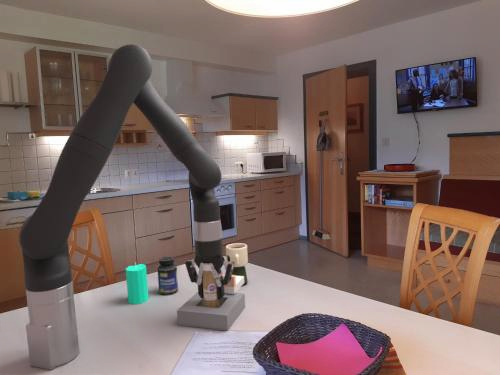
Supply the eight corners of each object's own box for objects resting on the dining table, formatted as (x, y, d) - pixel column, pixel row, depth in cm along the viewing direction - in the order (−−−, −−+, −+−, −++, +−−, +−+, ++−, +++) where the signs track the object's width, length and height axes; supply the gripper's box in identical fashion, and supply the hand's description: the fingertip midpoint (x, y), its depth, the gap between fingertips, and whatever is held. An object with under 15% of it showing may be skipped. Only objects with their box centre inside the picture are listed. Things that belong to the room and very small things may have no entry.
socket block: (227, 330, 95) (226, 315, 95) (177, 324, 99) (176, 310, 99) (245, 307, 108) (244, 293, 108) (200, 302, 113) (199, 290, 112)
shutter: (234, 294, 107) (233, 276, 107) (205, 291, 110) (204, 275, 109) (244, 282, 116) (243, 266, 115) (217, 280, 119) (216, 265, 118)
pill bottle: (159, 296, 119) (156, 262, 118) (158, 289, 125) (156, 257, 123) (179, 293, 120) (176, 260, 119) (177, 287, 126) (175, 254, 125)
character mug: (228, 278, 132) (226, 242, 131) (248, 277, 132) (246, 241, 131) (227, 290, 121) (225, 250, 120) (249, 289, 122) (247, 249, 120)
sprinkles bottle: (207, 314, 101) (205, 265, 99) (201, 308, 105) (198, 260, 103) (223, 310, 103) (221, 262, 101) (216, 304, 107) (214, 258, 105)
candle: (151, 296, 120) (148, 259, 118) (144, 304, 114) (141, 265, 112) (133, 296, 120) (130, 259, 119) (125, 304, 114) (121, 265, 113)
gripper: (237, 234, 103) (240, 294, 105) (190, 232, 107) (193, 290, 109) (228, 241, 96) (231, 306, 98) (177, 239, 100) (181, 301, 102)
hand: (211, 297), depth 103 cm, fingers closed on sprinkles bottle, 4 cm apart
